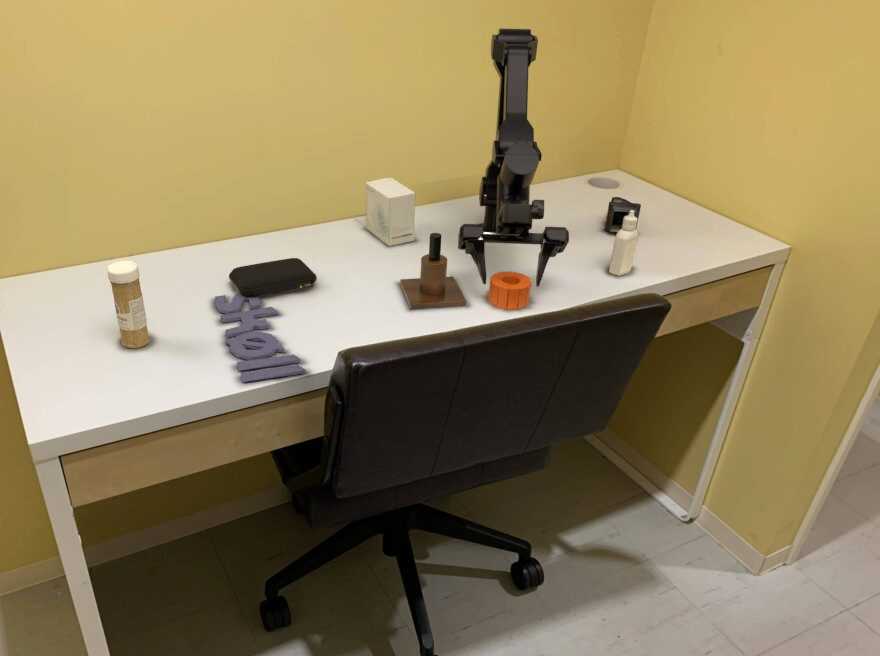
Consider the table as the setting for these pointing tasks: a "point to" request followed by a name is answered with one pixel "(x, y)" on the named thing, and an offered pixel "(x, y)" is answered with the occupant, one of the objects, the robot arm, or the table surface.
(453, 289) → the stand
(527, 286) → the ring
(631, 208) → the dark grey hollow box
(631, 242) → the eye dropper bottle
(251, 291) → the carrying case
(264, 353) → the signage
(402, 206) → the cosmetics box
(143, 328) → the sprinkles bottle
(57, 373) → the table surface
